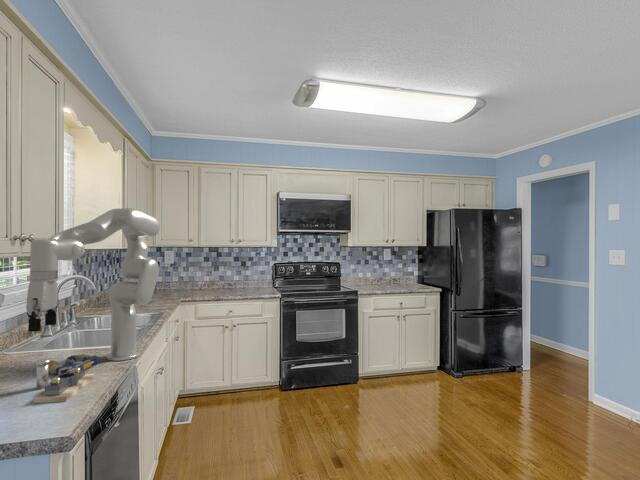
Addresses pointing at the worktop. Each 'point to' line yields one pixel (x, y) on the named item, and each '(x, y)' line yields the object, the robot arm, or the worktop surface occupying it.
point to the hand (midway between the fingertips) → (42, 327)
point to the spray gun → (73, 363)
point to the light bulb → (42, 372)
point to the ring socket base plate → (64, 386)
